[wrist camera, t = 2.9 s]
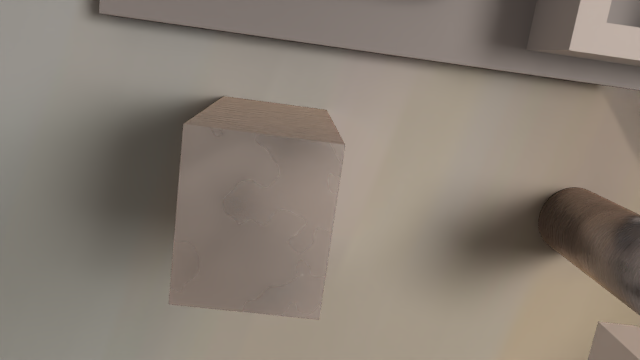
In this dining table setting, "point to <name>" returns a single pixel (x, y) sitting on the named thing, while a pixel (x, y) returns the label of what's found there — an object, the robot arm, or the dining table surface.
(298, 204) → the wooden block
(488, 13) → the stand
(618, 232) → the rounded metal cylinder
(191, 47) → the dining table surface
